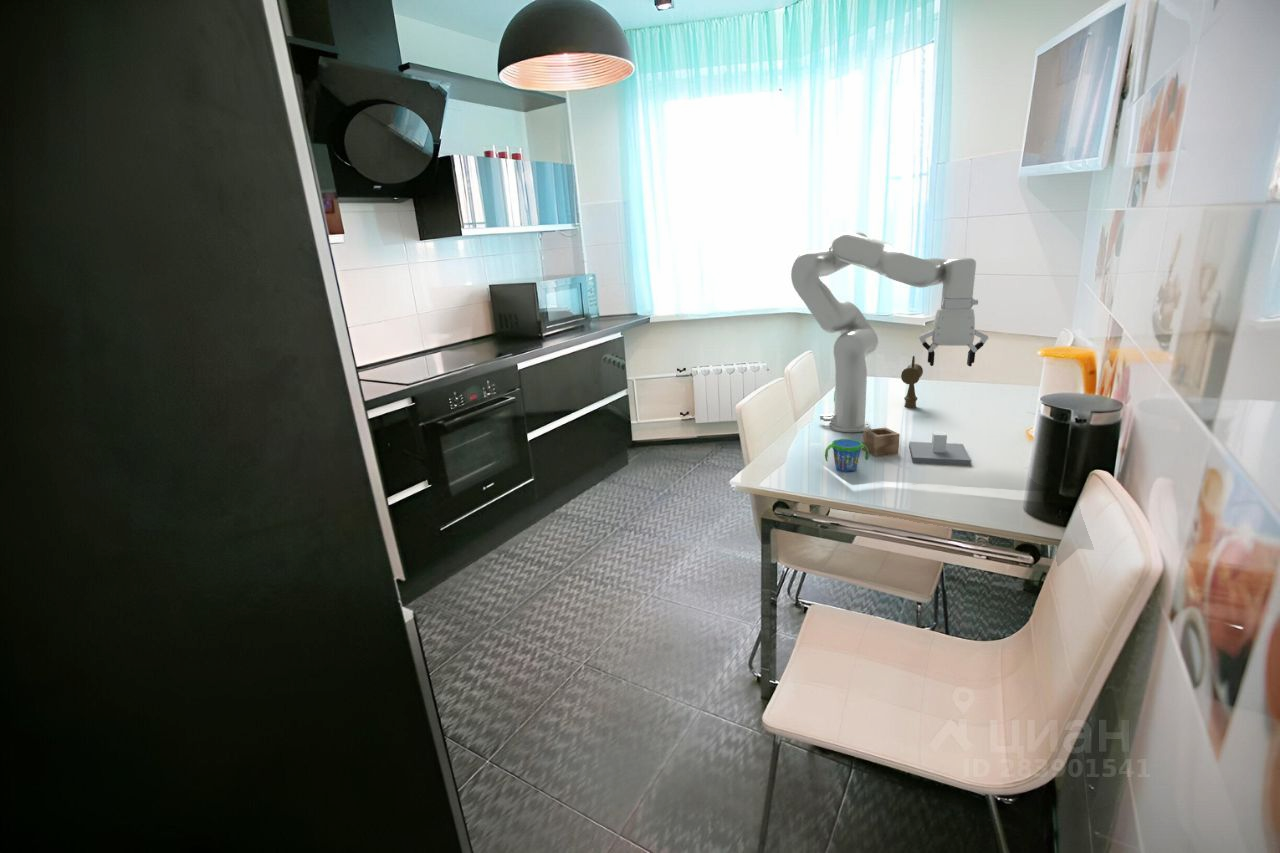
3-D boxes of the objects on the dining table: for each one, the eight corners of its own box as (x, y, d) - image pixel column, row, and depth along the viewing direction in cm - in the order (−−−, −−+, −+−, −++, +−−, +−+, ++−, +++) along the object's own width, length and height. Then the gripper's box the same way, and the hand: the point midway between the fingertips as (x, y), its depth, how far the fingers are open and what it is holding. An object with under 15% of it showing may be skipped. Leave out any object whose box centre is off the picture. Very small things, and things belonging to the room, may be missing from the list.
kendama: (898, 413, 205) (901, 357, 199) (903, 407, 212) (906, 353, 207) (916, 415, 201) (920, 358, 196) (921, 408, 209) (925, 353, 204)
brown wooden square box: (875, 456, 165) (876, 436, 163) (862, 449, 172) (863, 430, 170) (898, 453, 166) (899, 434, 164) (884, 446, 173) (885, 427, 171)
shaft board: (912, 462, 159) (914, 439, 157) (908, 446, 171) (910, 425, 169) (970, 465, 154) (972, 442, 152) (962, 448, 166) (964, 427, 165)
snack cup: (865, 463, 160) (866, 438, 158) (871, 473, 153) (872, 447, 151) (822, 464, 162) (822, 439, 160) (826, 474, 155) (827, 447, 153)
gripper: (989, 302, 161) (982, 363, 166) (920, 303, 167) (915, 362, 172) (994, 305, 154) (987, 368, 159) (923, 306, 160) (918, 367, 165)
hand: (950, 365), depth 165 cm, fingers open, 9 cm apart
